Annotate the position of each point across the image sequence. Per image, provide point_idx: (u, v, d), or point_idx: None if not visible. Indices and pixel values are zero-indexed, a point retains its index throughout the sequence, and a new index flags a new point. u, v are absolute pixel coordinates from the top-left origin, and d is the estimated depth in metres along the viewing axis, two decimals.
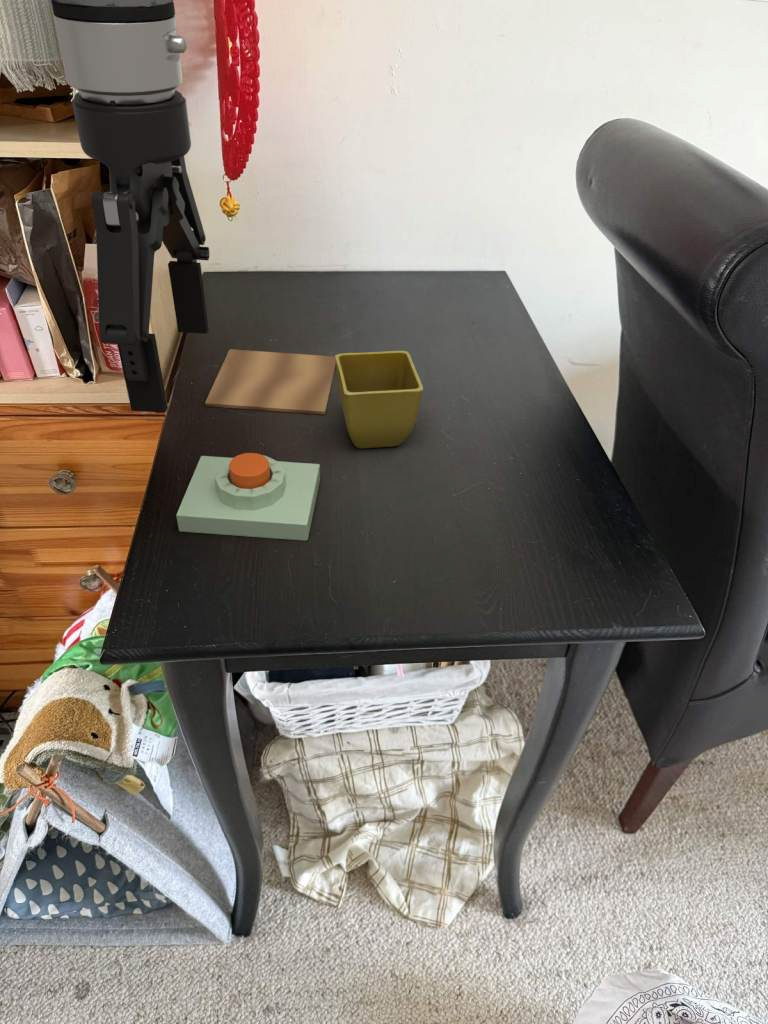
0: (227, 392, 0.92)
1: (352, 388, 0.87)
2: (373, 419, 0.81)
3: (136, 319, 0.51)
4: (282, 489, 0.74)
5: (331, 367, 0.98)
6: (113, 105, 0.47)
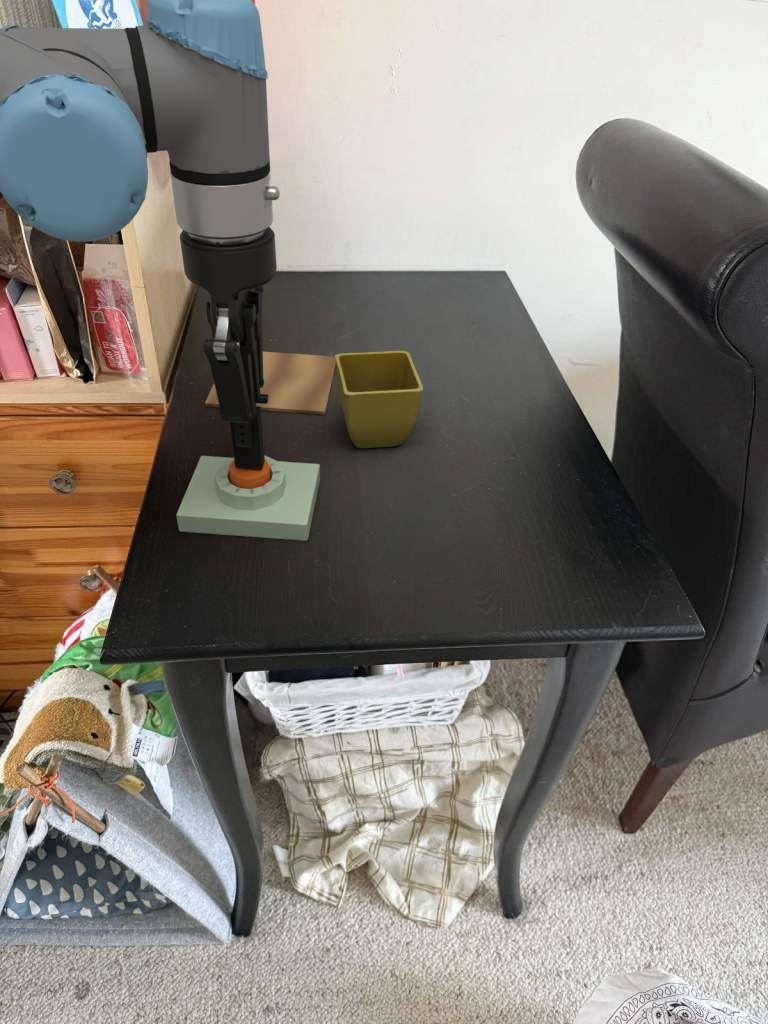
0: None
1: (352, 388, 0.87)
2: (373, 419, 0.81)
3: (248, 407, 0.65)
4: (282, 489, 0.74)
5: (331, 367, 0.98)
6: (218, 246, 0.56)
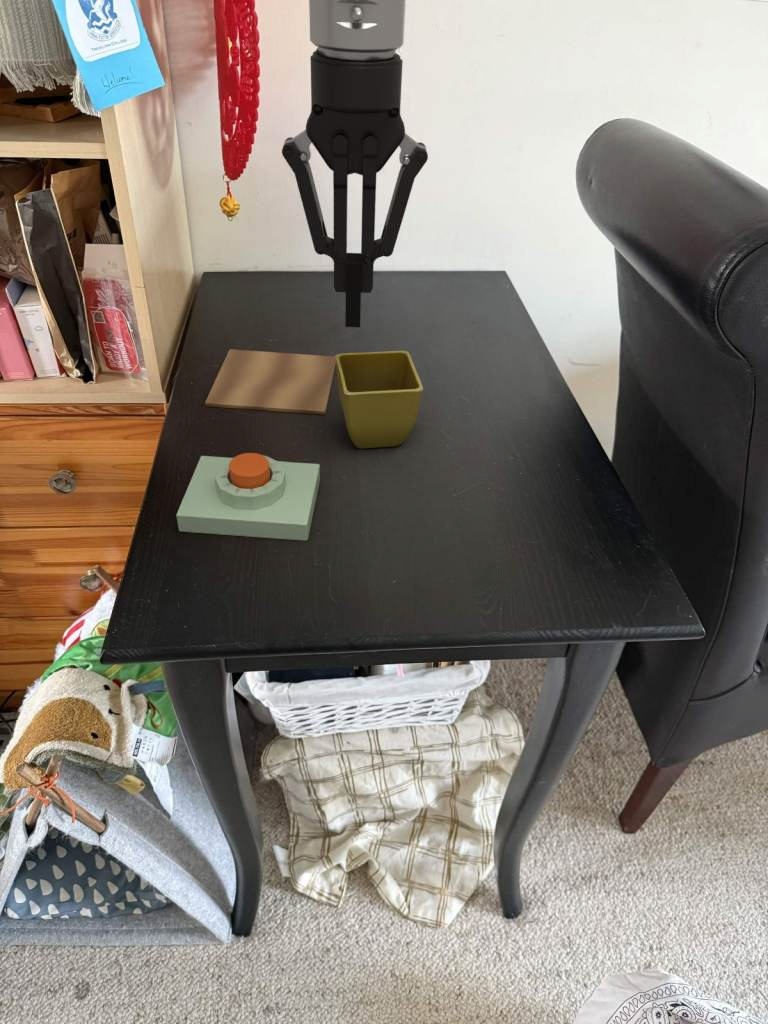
0: (227, 392, 0.92)
1: (352, 388, 0.87)
2: (373, 419, 0.81)
3: (317, 236, 0.67)
4: (282, 489, 0.74)
5: (331, 367, 0.98)
6: (316, 52, 0.59)
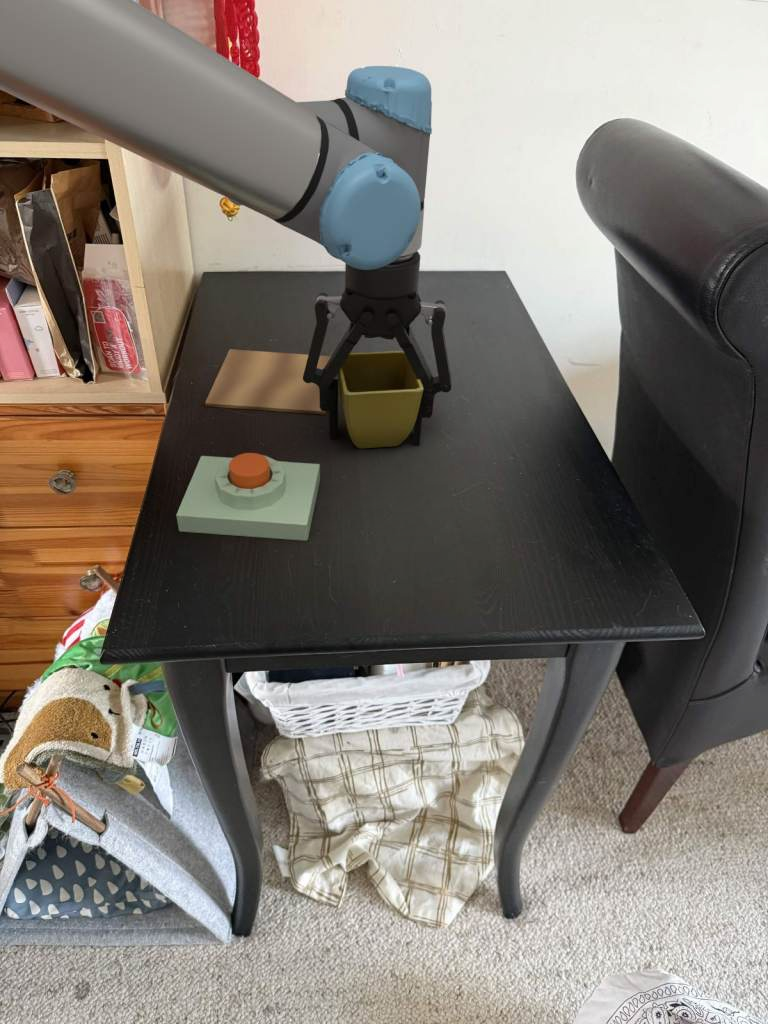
0: (227, 392, 0.92)
1: (352, 388, 0.87)
2: (373, 419, 0.81)
3: (310, 369, 0.81)
4: (282, 489, 0.74)
5: None
6: None
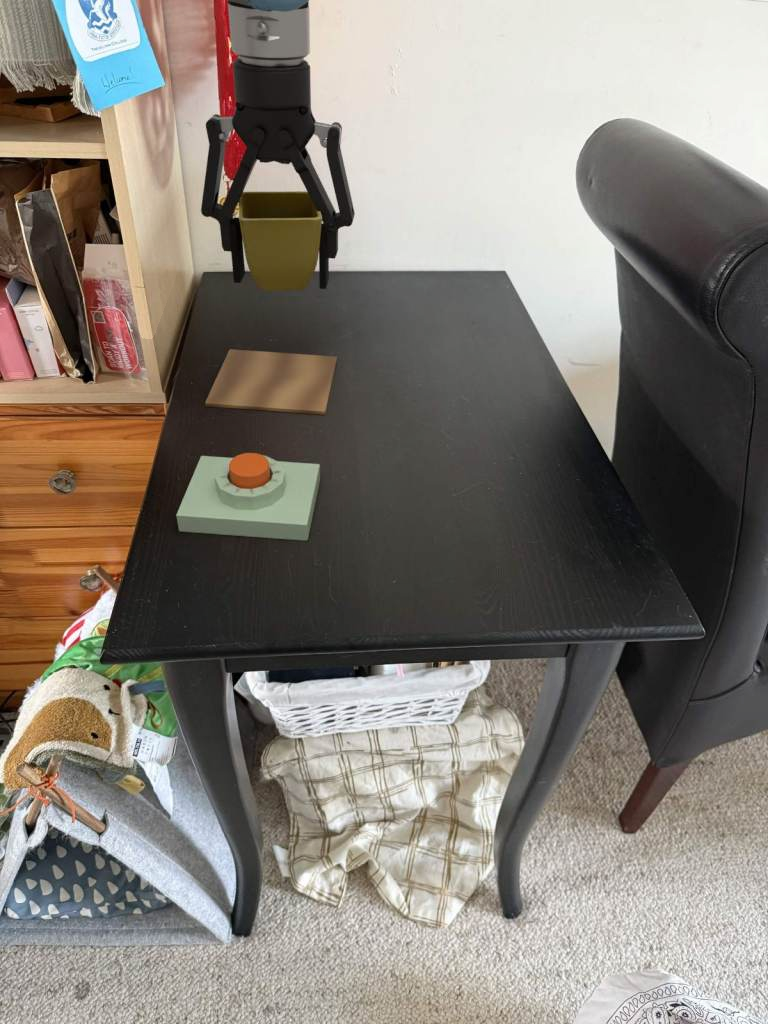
0: (227, 392, 0.92)
1: None
2: (272, 252, 0.79)
3: (207, 200, 0.79)
4: (282, 489, 0.74)
5: (331, 367, 0.98)
6: (238, 59, 0.71)
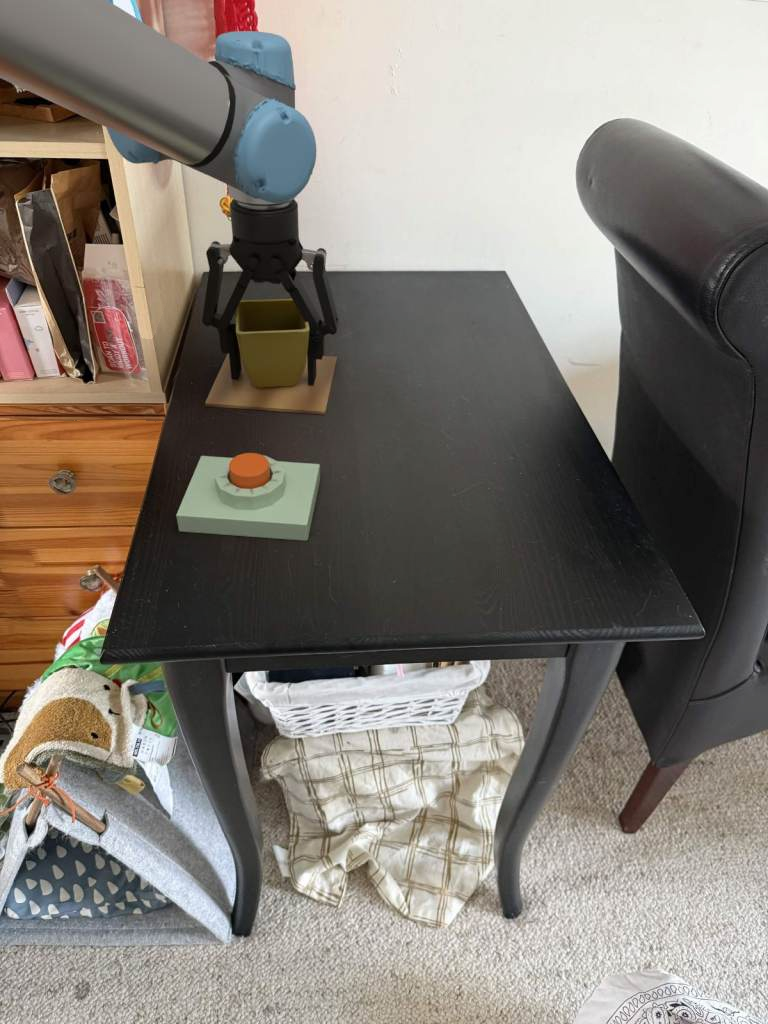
0: (227, 392, 0.92)
1: None
2: (266, 358, 0.89)
3: (207, 312, 0.89)
4: (282, 489, 0.74)
5: (331, 367, 0.98)
6: (234, 199, 0.81)
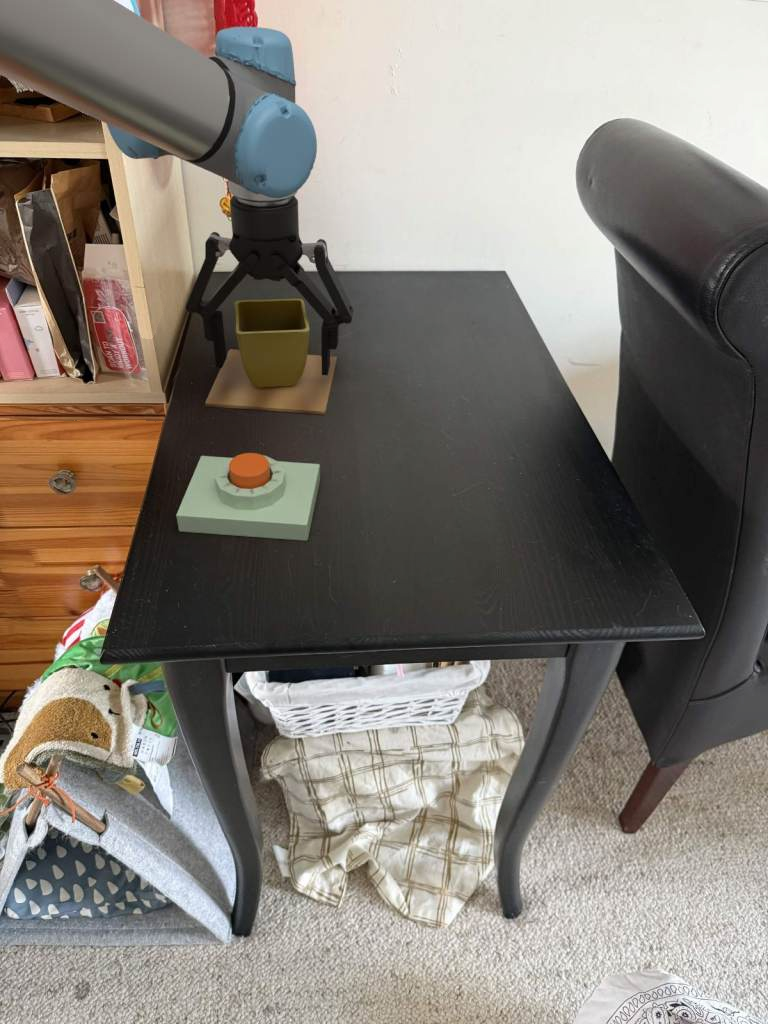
0: (227, 392, 0.92)
1: None
2: (266, 358, 0.89)
3: (193, 300, 0.88)
4: (282, 489, 0.74)
5: (331, 367, 0.98)
6: (234, 196, 0.81)
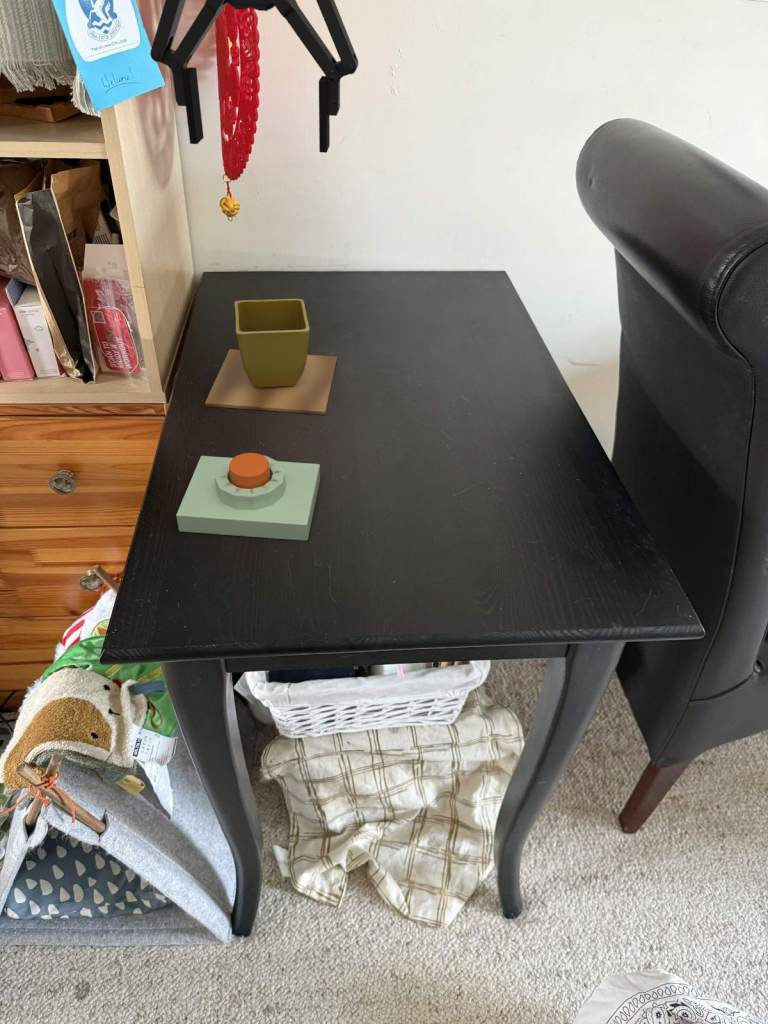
0: (227, 392, 0.92)
1: None
2: (266, 358, 0.89)
3: (159, 42, 0.71)
4: (282, 489, 0.74)
5: (331, 367, 0.98)
6: None
